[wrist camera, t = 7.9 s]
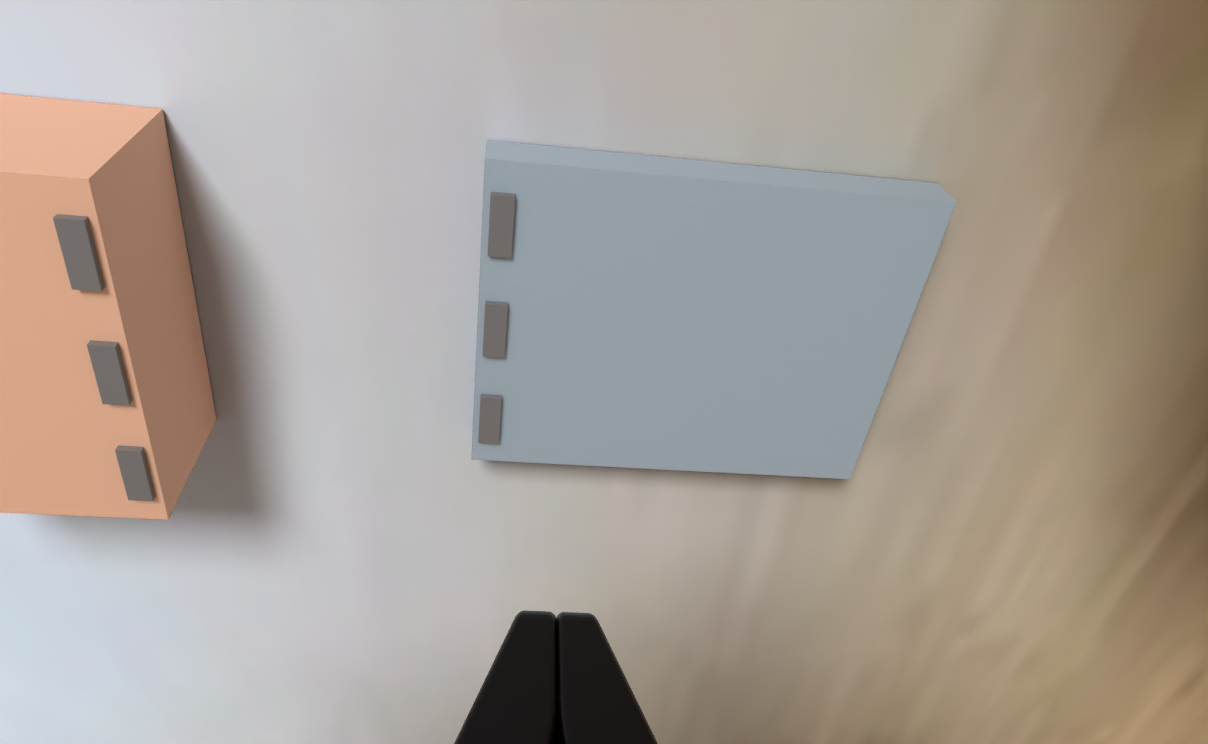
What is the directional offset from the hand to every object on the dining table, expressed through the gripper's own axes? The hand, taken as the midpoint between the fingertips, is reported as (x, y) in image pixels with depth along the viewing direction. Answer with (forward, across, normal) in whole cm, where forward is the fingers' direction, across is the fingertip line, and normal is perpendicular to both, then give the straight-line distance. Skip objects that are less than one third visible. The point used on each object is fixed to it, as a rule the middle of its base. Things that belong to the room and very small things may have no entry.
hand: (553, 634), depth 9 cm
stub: (+11, +11, +3) cm, 16 cm away
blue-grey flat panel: (+12, -3, +3) cm, 12 cm away
